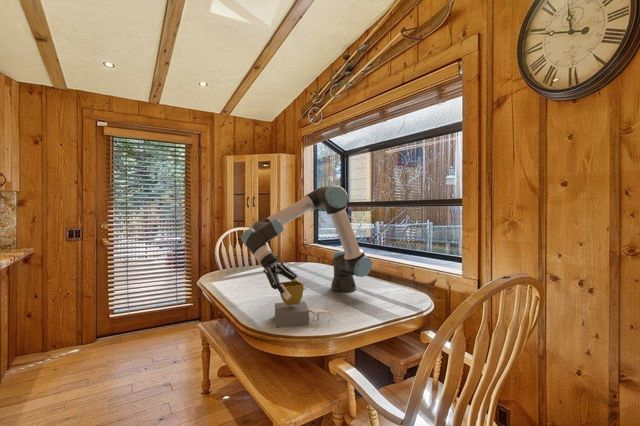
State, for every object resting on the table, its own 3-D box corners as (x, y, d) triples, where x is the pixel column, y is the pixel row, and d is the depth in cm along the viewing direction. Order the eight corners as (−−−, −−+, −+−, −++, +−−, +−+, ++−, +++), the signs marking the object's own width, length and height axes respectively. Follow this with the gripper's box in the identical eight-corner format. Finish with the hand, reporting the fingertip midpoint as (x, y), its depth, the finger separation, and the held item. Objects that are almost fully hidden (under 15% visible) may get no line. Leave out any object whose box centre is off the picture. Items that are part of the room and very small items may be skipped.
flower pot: (285, 308, 131) (284, 286, 131) (278, 302, 139) (278, 282, 139) (304, 305, 135) (304, 284, 135) (296, 299, 143) (296, 280, 143)
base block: (305, 314, 146) (305, 301, 145) (309, 325, 132) (308, 311, 132) (274, 316, 143) (274, 303, 143) (275, 327, 129) (275, 313, 129)
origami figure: (304, 325, 132) (304, 314, 132) (307, 318, 140) (307, 307, 140) (332, 326, 131) (332, 314, 131) (333, 319, 139) (333, 308, 139)
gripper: (275, 258, 154) (303, 292, 148) (245, 267, 132) (276, 307, 126) (284, 248, 152) (313, 282, 146) (255, 255, 130) (287, 296, 124)
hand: (296, 294), depth 136 cm, fingers closed on flower pot, 12 cm apart
